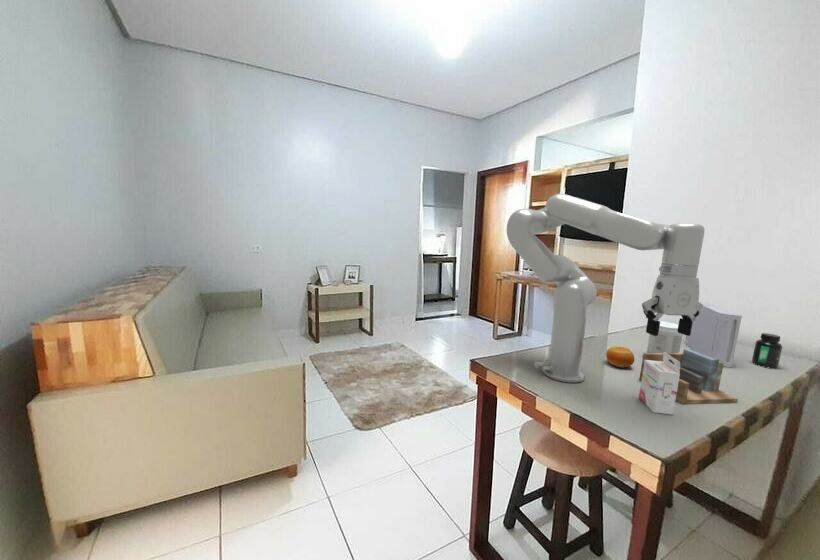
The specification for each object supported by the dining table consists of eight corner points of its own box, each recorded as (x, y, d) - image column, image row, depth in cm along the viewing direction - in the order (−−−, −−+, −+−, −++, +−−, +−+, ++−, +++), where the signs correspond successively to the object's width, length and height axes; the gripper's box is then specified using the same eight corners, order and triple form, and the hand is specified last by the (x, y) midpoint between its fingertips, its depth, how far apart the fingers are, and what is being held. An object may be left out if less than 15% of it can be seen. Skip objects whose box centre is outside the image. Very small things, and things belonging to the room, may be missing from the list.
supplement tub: (669, 358, 127) (675, 322, 125) (682, 368, 118) (689, 329, 116) (641, 355, 129) (646, 319, 127) (651, 364, 120) (658, 326, 118)
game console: (711, 365, 122) (721, 313, 119) (683, 343, 147) (691, 300, 144) (731, 368, 120) (742, 315, 117) (700, 345, 145) (708, 301, 142)
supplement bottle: (763, 368, 121) (770, 337, 119) (746, 361, 128) (752, 331, 126) (783, 369, 121) (790, 338, 119) (765, 362, 127) (771, 332, 126)
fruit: (611, 349, 125) (617, 336, 119) (634, 363, 119) (642, 351, 114) (598, 361, 122) (604, 349, 116) (622, 377, 116) (629, 365, 111)
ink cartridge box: (637, 397, 95) (645, 348, 93) (656, 399, 94) (664, 350, 92) (652, 412, 87) (661, 360, 84) (673, 415, 86) (683, 362, 84)
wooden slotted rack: (682, 404, 92) (688, 366, 90) (639, 379, 107) (644, 347, 105) (737, 402, 94) (745, 366, 92) (688, 379, 109) (693, 347, 107)
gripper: (661, 272, 80) (651, 339, 83) (722, 274, 83) (709, 338, 85) (637, 268, 88) (628, 330, 90) (693, 270, 90) (682, 330, 93)
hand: (667, 334), depth 88 cm, fingers open, 9 cm apart
